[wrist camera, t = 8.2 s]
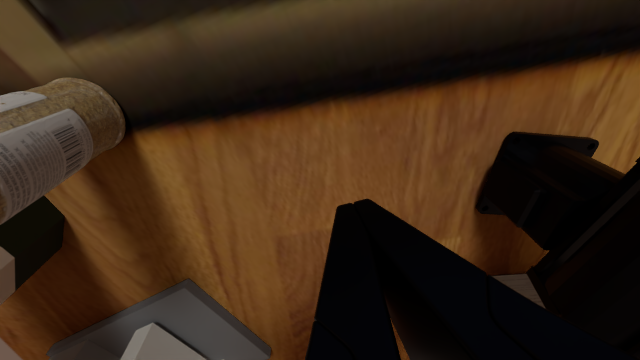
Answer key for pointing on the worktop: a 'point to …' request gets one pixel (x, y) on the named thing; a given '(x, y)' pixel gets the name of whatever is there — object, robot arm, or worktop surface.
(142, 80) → the worktop surface
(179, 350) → the white tall block
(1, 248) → the wine bottle
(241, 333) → the base
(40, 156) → the sprinkles bottle
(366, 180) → the worktop surface
